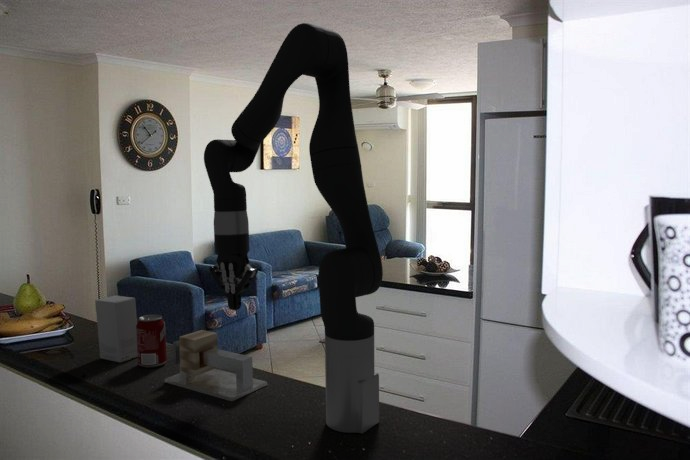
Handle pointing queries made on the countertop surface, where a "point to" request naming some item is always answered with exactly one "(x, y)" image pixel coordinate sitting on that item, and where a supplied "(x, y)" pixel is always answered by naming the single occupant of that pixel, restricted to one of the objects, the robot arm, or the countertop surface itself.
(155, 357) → the soda can
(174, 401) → the countertop surface
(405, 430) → the countertop surface
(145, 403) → the countertop surface
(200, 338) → the tan notched block
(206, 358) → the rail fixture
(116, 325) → the skincare box
